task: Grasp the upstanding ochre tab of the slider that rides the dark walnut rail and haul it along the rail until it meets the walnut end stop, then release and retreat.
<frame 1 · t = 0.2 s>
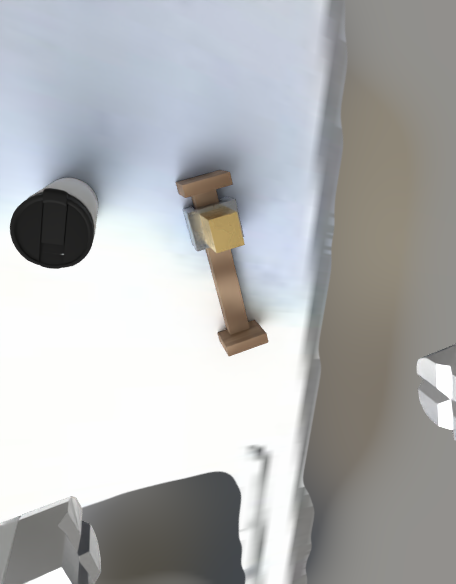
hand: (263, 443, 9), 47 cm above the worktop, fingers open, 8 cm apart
rail: (219, 261, 58), on the worktop
travel mug: (71, 202, 50), on the worktop
slider: (217, 226, 51), point 5 cm above the worktop, slide at 0.0 cm
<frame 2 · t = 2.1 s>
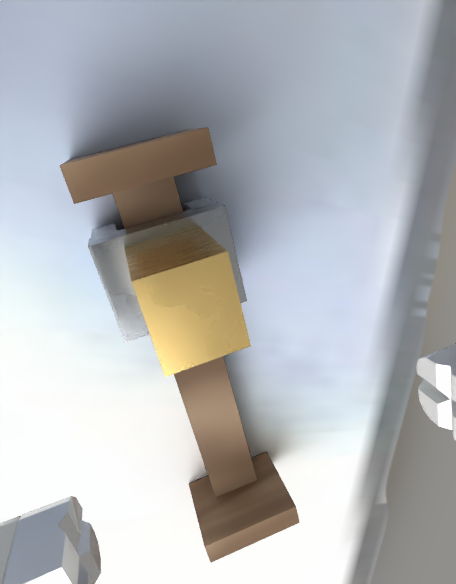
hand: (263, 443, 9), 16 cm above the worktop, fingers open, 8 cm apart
rail: (190, 344, 25), on the worktop
slider: (176, 280, 19), point 5 cm above the worktop, slide at 0.0 cm
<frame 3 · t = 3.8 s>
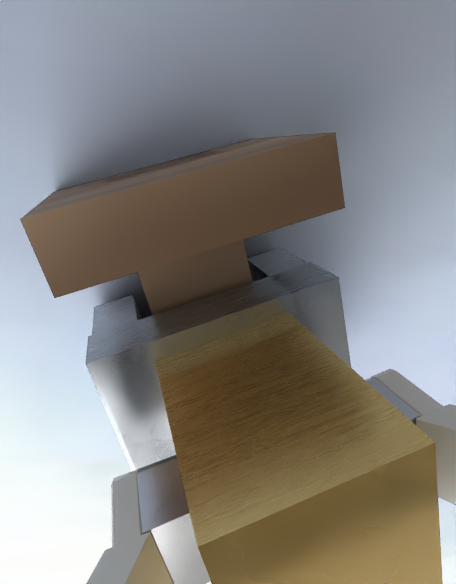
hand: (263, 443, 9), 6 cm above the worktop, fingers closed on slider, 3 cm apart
rail: (244, 466, 17), on the worktop
slider: (250, 417, 10), point 5 cm above the worktop, slide at 0.0 cm, touching gripper
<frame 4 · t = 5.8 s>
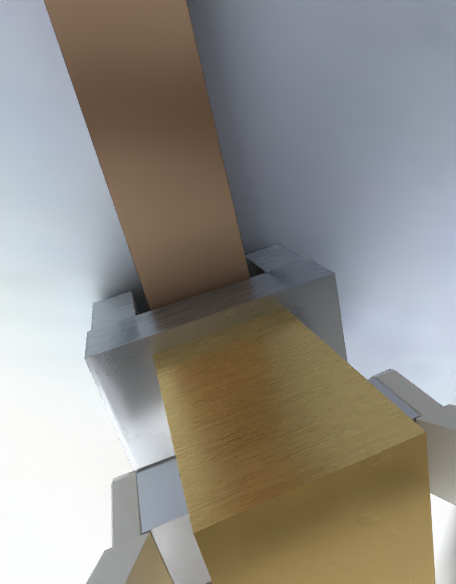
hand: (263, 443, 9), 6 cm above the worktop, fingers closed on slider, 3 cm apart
rail: (196, 300, 14), on the worktop
slider: (247, 411, 10), point 5 cm above the worktop, slide at 7.4 cm, touching gripper
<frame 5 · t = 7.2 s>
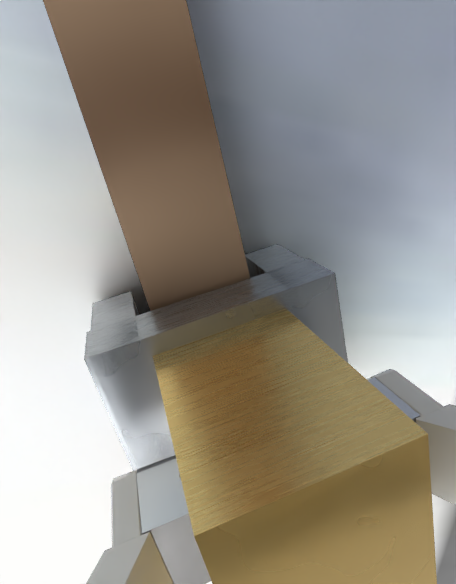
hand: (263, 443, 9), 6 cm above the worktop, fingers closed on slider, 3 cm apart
rail: (134, 92, 11), on the worktop
slider: (247, 412, 10), point 5 cm above the worktop, slide at 13.9 cm, touching gripper
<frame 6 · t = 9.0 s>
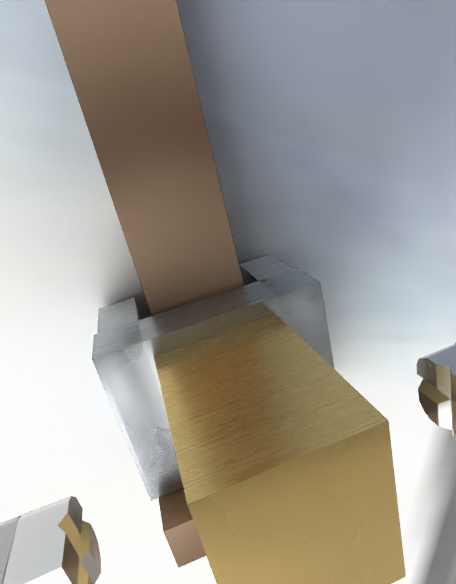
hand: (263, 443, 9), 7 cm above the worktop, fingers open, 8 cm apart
rail: (138, 116, 12), on the worktop
slider: (240, 408, 11), point 5 cm above the worktop, slide at 13.9 cm
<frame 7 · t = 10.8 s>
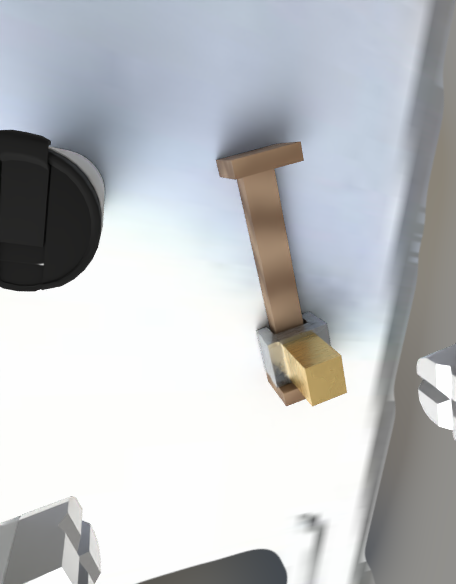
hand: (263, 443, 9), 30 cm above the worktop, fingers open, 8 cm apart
rail: (272, 273, 42), on the worktop
travel mug: (66, 187, 34), on the worktop
slider: (305, 359, 40), point 5 cm above the worktop, slide at 13.9 cm
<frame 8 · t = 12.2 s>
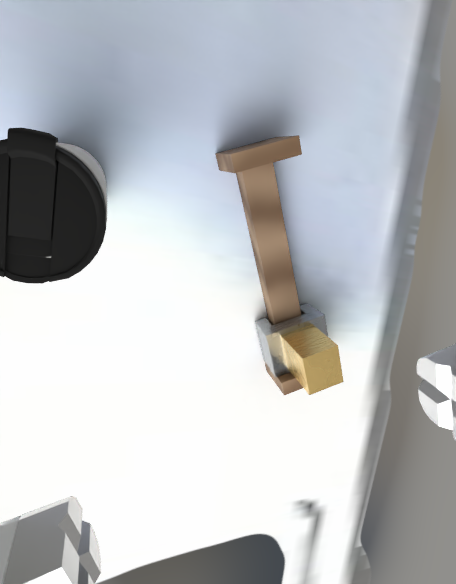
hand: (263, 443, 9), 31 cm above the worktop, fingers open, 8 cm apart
rail: (270, 265, 42), on the worktop
travel mug: (68, 180, 35), on the worktop
slider: (302, 349, 41), point 5 cm above the worktop, slide at 13.9 cm
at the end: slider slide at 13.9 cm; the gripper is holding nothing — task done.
